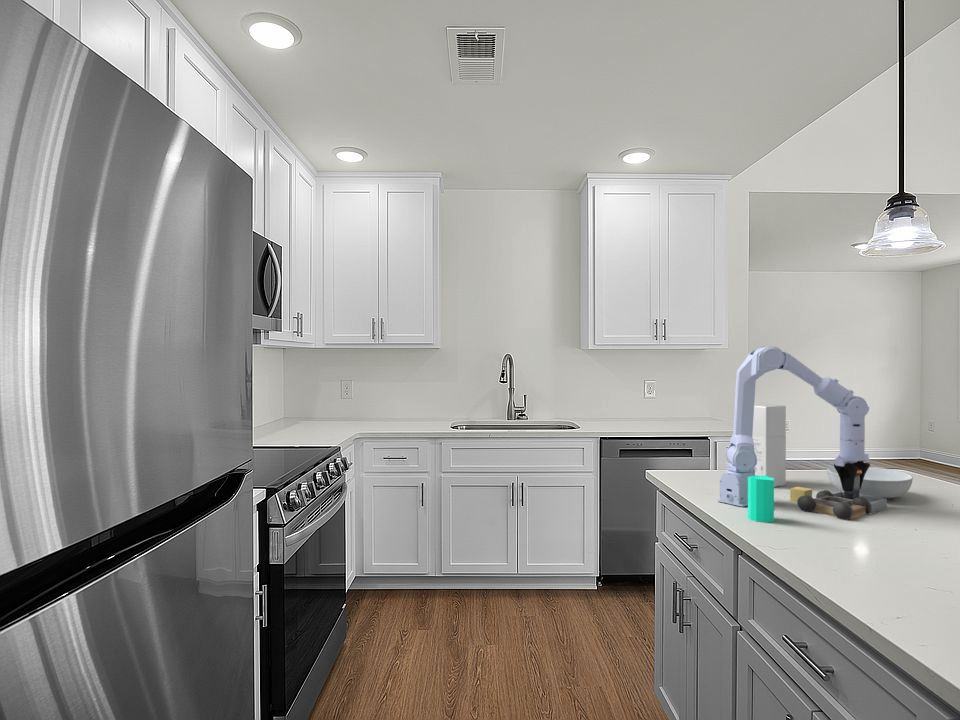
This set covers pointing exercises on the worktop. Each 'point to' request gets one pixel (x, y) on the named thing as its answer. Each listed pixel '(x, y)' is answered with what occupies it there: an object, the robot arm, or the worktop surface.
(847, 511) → the trolley
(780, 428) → the tall white carton
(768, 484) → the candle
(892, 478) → the serving bowl
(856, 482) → the pin
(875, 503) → the tray
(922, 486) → the worktop surface
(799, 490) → the yellow cube
